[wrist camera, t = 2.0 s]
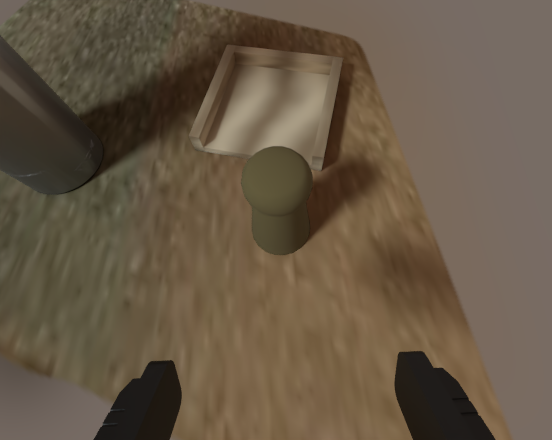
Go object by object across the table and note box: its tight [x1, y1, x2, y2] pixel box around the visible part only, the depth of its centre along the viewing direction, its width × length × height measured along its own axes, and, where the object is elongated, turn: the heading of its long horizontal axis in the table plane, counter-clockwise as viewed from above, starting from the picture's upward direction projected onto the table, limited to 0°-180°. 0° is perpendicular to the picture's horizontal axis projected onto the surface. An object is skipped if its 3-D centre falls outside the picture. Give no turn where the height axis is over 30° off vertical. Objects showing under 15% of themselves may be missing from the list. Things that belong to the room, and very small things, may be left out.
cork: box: [241, 146, 312, 255], centre depth 24 cm, size 6×6×11 cm
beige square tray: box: [189, 44, 343, 171], centre depth 34 cm, size 15×15×2 cm
